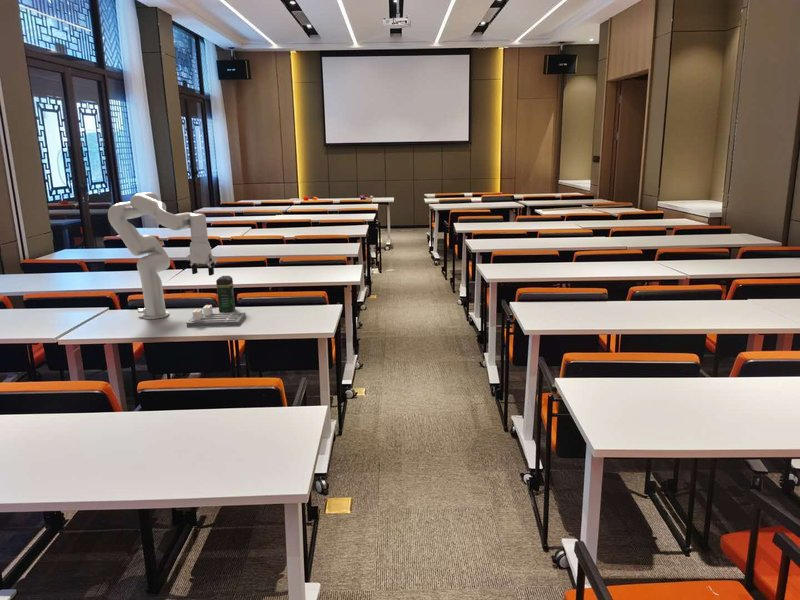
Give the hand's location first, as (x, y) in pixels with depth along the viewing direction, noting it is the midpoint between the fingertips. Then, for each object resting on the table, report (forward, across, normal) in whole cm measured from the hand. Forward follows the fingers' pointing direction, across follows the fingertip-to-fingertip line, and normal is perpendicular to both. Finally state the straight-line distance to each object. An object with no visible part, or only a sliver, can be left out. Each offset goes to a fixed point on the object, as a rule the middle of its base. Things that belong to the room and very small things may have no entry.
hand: (203, 274), depth 287 cm
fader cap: (+21, 0, -7) cm, 22 cm away
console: (+24, +6, 0) cm, 24 cm away
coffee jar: (+24, -1, +17) cm, 29 cm away
